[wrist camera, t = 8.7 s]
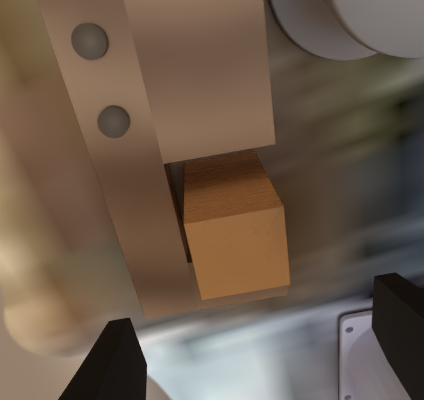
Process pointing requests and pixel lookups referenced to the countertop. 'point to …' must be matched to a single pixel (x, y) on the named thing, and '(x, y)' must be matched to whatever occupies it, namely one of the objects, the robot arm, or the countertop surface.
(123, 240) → the terminal board
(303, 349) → the countertop surface
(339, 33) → the door knob
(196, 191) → the wooden block
